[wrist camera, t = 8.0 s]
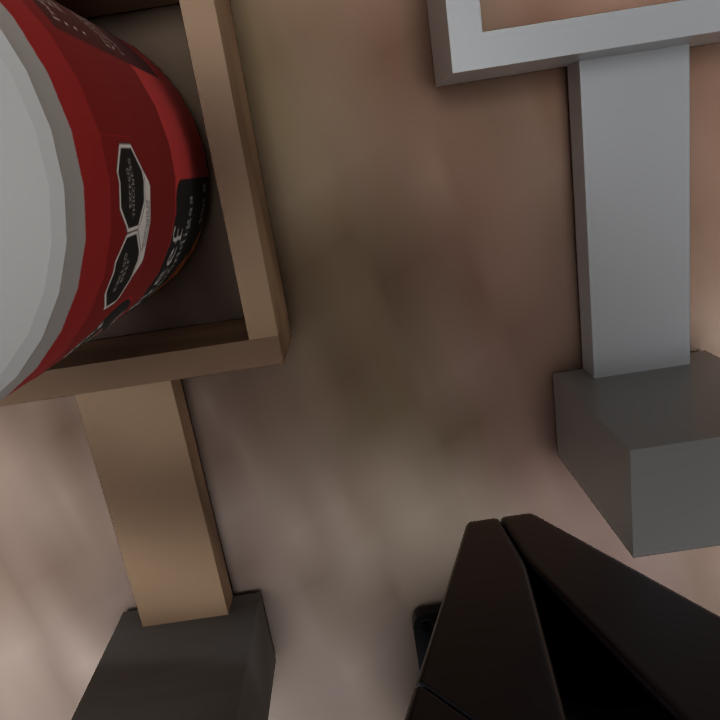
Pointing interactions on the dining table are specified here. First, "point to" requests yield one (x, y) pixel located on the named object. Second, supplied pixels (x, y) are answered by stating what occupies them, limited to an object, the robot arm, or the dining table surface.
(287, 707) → the dining table surface
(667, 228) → the grey tray
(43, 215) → the canned food
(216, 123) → the tan tray with handle
